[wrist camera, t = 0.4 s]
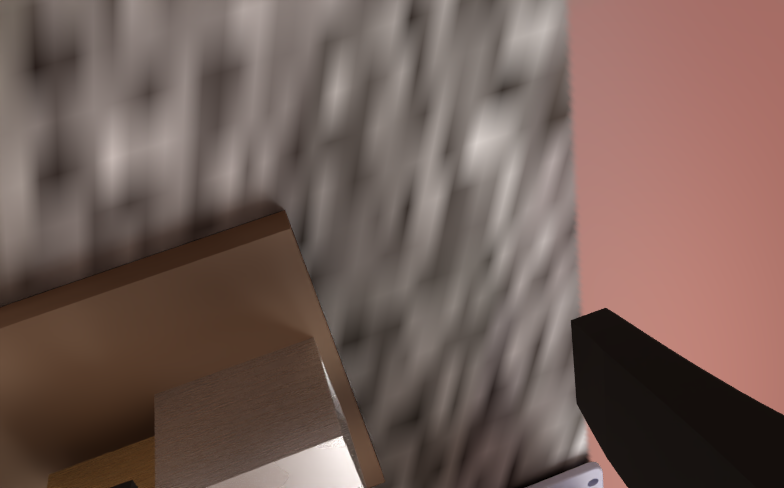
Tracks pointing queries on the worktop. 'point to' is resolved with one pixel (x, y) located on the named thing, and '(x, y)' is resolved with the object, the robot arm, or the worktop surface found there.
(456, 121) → the worktop surface
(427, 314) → the worktop surface
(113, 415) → the walnut board
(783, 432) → the robot arm
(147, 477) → the light wooden block
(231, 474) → the white cardboard cube
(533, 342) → the worktop surface
